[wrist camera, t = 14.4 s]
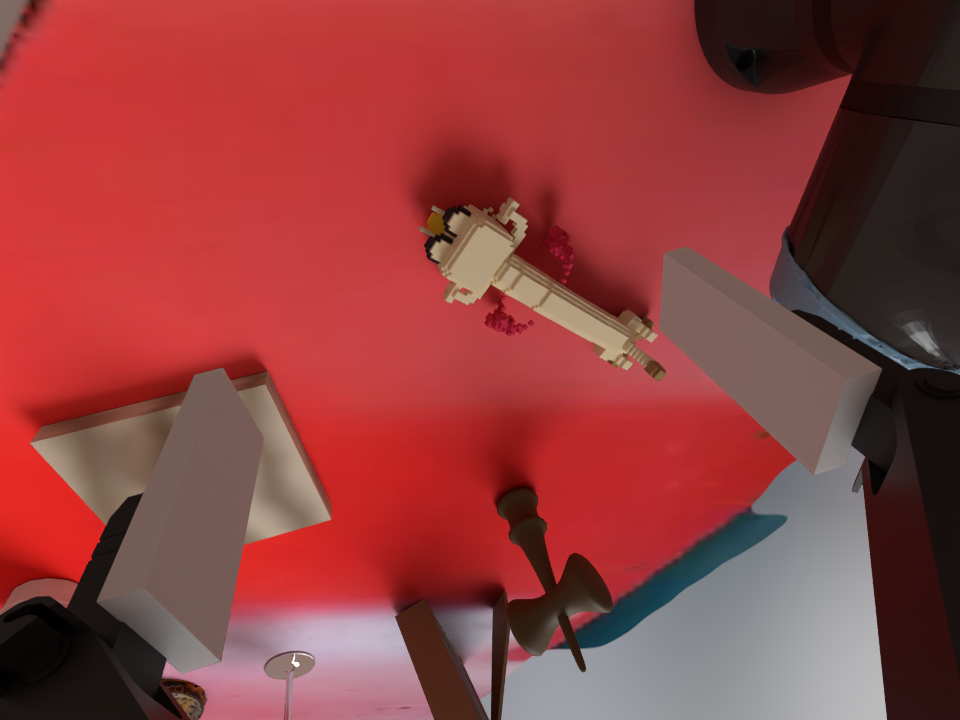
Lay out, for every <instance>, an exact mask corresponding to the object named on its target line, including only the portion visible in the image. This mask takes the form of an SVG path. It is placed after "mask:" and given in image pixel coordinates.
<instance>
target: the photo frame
mask: <svg viewBox="0 0 960 720" xmlns="http://www.w3.org/2000/svg"><path fill="white" fill-rule="evenodd" d="M507 604H508V600H507V593H506V591H503V592H502V594H501V596H500V597H499V599H498V601H497V602H496V604H495V606H494V608H493V629H492V688H491V720H501V714H502V704H503V694H504V684H505V674H506V664H507V654H508V644H509V634H510V626H509V623H508V618H507V613H506V609H507ZM395 618H396V620H397V623H398V626H399V628H400V631H401V634H402V636H403V639H404V641H405V644H406V647H407V649H408V652H409V654H410V657H411V660H412V662H413V665H414V668H415V670H416V673H417V675H418V678H419V681H420V683H421V686H422V689H423V691H424V694H425V696H426V699H427V702H428V704H429V707H430V710H431V712H432V715H433V717H434V720H489V719H488V717H487V714H486V712H485V710H484V708H483V706H482V704H481V702H480V699H479V697H478V695H477V693H476V691H475V689H474V686H473V684H472V682H471V680H470V678H469V676H468V674H467V671H466V669H465V667H464V665H463V663H462V662H461V660H460V658H459V656H458V655H457V653H456V651H455V650H454V648H453V646H452V645H451V643H450V641H449V639H448V638H447V636H446V634H445V633H444V631H443V629H442V627H441V626H440V624H439V622H438V621H437V619H436V617H435V616H434V614H433V612H432V610H431V609H430V607H429V605H428V604H427V602H426V600H425V599H422V600H421V601H419V602H417V603H416V604H414V605H413V606H411V607H410V608H408V609H406V610H405V611H403V612H402V613H400V614H398V615H397V616H395Z"/></svg>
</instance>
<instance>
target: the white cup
mask: <svg viewBox="0 0 960 720" xmlns="http://www.w3.org/2000/svg"><path fill="white" fill-rule="evenodd" d="M77 585H78V584H77V583H75V582H72V581H69V580H64V579H54V578H45V579H38V580H31V581H28V582H26V583H24V584H22V585H19V586H17V587H16V588H15V589H14V590H13V591H12V593H11V594H10V595H9V596H8V598H7V599H6V601H5V603H4V604H3V606H2V608H1V609H0V615H1V614H2V613H4V612H5V611H7V610H9V609H10V608H12V607H13V606H15V605H17V604H18V603H20V602H23V601H26V600H28V599H31V598H34V597H38V596H50V597H52V598H53V599H55V600H56V601H58V602H59V603H60V604H62V605H63V606H64V607H65V608H67V606H68V604H69V602H70V600H71V598H72V596H73V594H74V591H75V589H76V587H77Z"/></svg>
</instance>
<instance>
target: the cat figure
mask: <svg viewBox="0 0 960 720" xmlns="http://www.w3.org/2000/svg"><path fill="white" fill-rule="evenodd" d="M518 206H519V204H518V203H517V202H516V201H515V200H513V199H512V198H510V197H509V198H508V200H507V201H506V203H504V202H503V204H502V205H501V207H500V208H499V210H500V211H499V212H498V214H497V215H495V214H493V215H492V216H491V217H490V216H488V215H487V213H488V212H491V213H492V212H493V211H494V209H493V208H491V207H489V209H488V210H487V209H486V208H484V210H483V211H481V210H479V209H478V208H476V207H474V206H473V205H471V204H470V205H469V206H468V207H467V206H465V205H464V207H463V206H461V205H459V206H458V208H456V207H455V206H454V207H453V208H452V209H450V208H448V209H447V211H446V212H445V211H443V210H442V209H440V208H437V207H436V206H434V205H433V206H432V208H431V209H432V210H433V211H435V212H436V214H435V213H434V212H432V213H431V215H430V217H429V218H428V220H427V221H426V222H427V224H428V229H429V230H428V229H427V228H426V229H425V228H423V227H422V226H420V227H419V228H418V230H419V231H421V232H422V233H424V234H428V235H429V236H430V237H429V239H428V240H427V242H426V243H425V245H424V246H425V248H426V250H425V251H426V253H427V258H428V259H429V260H431V261H432V262H434V263H436V265H437V267H438V268H439V270H440V272H441V274H442V275H444V276H445V277H446V278H447V279H449V280H451V281H452V282H449V283H448V285H447V286H446V291H445V292H444V294H443V295H442V296H443V297H444V299H445V301H447V302H449V303H452V302H453V300H454V299H456V300H458V301H460V302H462V303H464V304H466V305H468V304H469V303H472V304H473V303H474V301H475V300H476V299H477V298H478V299H481V297H482V296H483V294H484V293H485V292H486V290H487V289H488V287H489V286H490V285H492V286H494V287H496V288H498V289H500V290H501V291H503V292H504V293H505V294H507V295H509V296H510V297H512V298H514V299H516V300H518V301H519V302H521V303H523V304H525V305H527V306H528V307H530V308H532V309H533V310H534V311H536V312H538V313H539V314H541V315H543V316H545V317H547V318H548V319H550V320H552V321H554V322H556V323H557V324H559V325H561V326H563V327H565V328H567V329H568V330H570V331H572V332H574V333H576V334H577V335H579V336H581V337H583V338H585V339H586V340H588V341H590V342H594V343H595V345H594V346H593V347H594V348H595V349H594V350H593V351H594V352H595V353H596V354H597V355H598V356H599V357H600V358H602V359H604V360H606V361H608V362H609V363H610V364H611V365H612V366H614V367H616V368H617V367H618V366H619V365H620V366H621V367H622V368H624V369H625V370H628V368H629V367H630V366H631V365H632V364H633V363H632V362H631V361H630V360H629V359H628V358H627V355H628V354H629V355H630V356H632V357H633V358H634V359H636V360H637V361H638V362H639V363H640V364H642V365H643V366H644V367H645V368H644V370H645V371H646V372H647V373H648V374H649V375H651V376H652V377H653V378H654V379H656V380H658V381H660V380H661V379H662V378H663V377H664V376H665V375H666V371H665V370H664V368H663V367H662V366H661V365H660V364H659V363H658V362H656V361H655V360H654V359H652V358H651V357H650V356H649V355H648V354H646V353H644V352H643V351H642V350H641V349H639V348H638V347H637V346H635V345H634V344H635V343H636V340H635V339H636V338H637V339H639V340H640V341H641V340H642V338H643V337H644V338H646V339H647V340H648V341H650V342H653V340H654V339H655V338H656V337H657V336H658V335H657V334H656V333H655V332H654V331H653V330H652V329H651V328H652V327H653V326H654V325H655V324H654V323H653V322H652V321H651V320H650V319H648V318H647V317H645V316H644V317H643V318H642V320H641V319H640V318H639V317H638V316H637V315H636V314H634V313H633V312H631V311H630V310H627V311H625V310H624V311H623V312H622V313H621V314H620V316H619V317H618V318H617V317H615V316H614V315H611V314H609V313H608V312H606V311H605V310H603V309H601V308H600V307H598V306H597V305H595V304H592V303H591V302H589V301H588V300H586V299H584V298H583V297H581V296H580V295H578V294H576V293H575V292H573V291H572V290H570V289H568V288H567V287H565V286H564V285H562V284H560V283H559V282H557V281H555V280H554V279H552V278H551V277H550V276H548V275H547V274H545V273H544V272H542V271H540V270H539V269H537V268H536V267H534V266H532V265H531V264H529V263H528V262H526V261H524V259H522V258H521V257H519V256H517V255H516V254H514V253H513V252H514V251H515V250H516V248H517V247H518V245H519V244H520V243H521V241H522V240H523V238H524V237H525V236H526V234H525V233H524V231H525V230H526V228H527V227H528V225H526V223H527V220H526V219H525V218H524V217H522V216H521V215H520V214H518V213H517V212H515V211H516V209H517V208H518ZM496 218H497V219H498V220H499V221H500V222H502V223H503V224H505V225H506V224H507V222H508V221H509V219H511V220H513V221H514V222H513V224H512V225H513V226H514V228H513V230H512V231H511V234H512V236H511V235H510V234H509V233H508V232H507V231H506V230H505V229H504V228H503V227H502V226H501V225H500V223H499V222H497V221H496ZM547 234H549V237H548V240H544V242H543V243H544V244H545V245H546V246H547V247H549V251H550V252H551V253H553V254H554V255H555V256H557V257H559V258H560V259H562V260H563V259H564V258H565V259H564V260H563V262H564V264H563V265H562V267H563V268H565V269H566V270H565V272H564V273H565V274H566V275H567V276H568V275H569V274H570V272H569V270H570V269H571V268H572V266H573V264H572V263H571V262H570V261H571V260H572V258H573V257H574V256H575V255H574V254H573V253H574V252H575V250H574V249H573V248H572V247H571V246H569V243H570V242H571V241H570V238H571V236H570V235H569V234H568V233H566V232H565V231H564V230H562V229H560V228H559V227H558V226H555V227H554V228H553V227H551V229H550V230H549V232H548V233H547ZM542 248H543V246H541V245H540V246H539V249H542ZM561 282H562V283H564V284H565V283H566V282H567V280H566V279H565V278H562V279H561ZM462 287H464V288H466V289H468V290H470V291H467V290H466V291H465V292H464V293H463V292H461V291H460V290H461V289H462ZM505 298H506V297H505V296H503V297H502V298H501V299H503V300H505ZM498 305H499V306H498V308H497V309H498V310H497V309H495V310H494V313H493V314H491V313H489V314H488V315H487V316H486V321H485V322H484V323H485V324H486V326H487V327H489V328H491V329H492V328H494V330H496V331H498V332H500V331H503V332H505V333H506V334H507V335H508V336H511V335H514V334H515V333H516V331H517V332H518V333H520V334H521V332H522V331H523V330H524V329H525V330H527V328H528V326H527V325H526V324H524V325H522V324H520V323H519V324H517V325H514V323H515V322H516V321H515V320H514V318H513V317H512V316H511V315H509V316H507V314H506V313H504V312H503V311H504V309H505V308H506V307H505V306H504V305H503V303H502V302H499V303H498ZM528 324H529V325H531V326H533V324H534V322H533V321H531V320H530V321H529V322H528Z"/></svg>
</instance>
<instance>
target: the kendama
mask: <svg viewBox="0 0 960 720" xmlns="http://www.w3.org/2000/svg"><path fill="white" fill-rule="evenodd" d="M537 505H538V496H537V495H536V494H535V492H534V491H532V490H530V489H527V488H519V489H515V490H512V491H510V492H509V493H507V494H505V495H504V496H503V497H502V498H501V499H500V501H499V502H498V504H497V506H496V507H497V512H498V514H499V515H500V516H501V517H502V518H503V519H506V520H508V522H509V525H510V531H509V539H510V541H511V542H512V543H513V544H516V545H519V546H520V547H521V548H522V550H523V551H524V553H525V554H526V556H527V558H528V559H529V561H530V563H531V565H532V567H533V568H534V570H535V572H536V574H537V576H538V578H539V580H540V582H541V584H542V586H543V588H544V590H545V592H546V594H544V595H543V596H541V597H539V598H535V599H515V600H512V601H510V602H509V603H508V604H507V609H506V613H507V618H508V623H509V626H510V628H511V631H512V633H513V635H514V637H515V639H516V640H517V642H518V643H519V645H520V646H521V647H522V648H523V649H524V650H525V651H526V652H528V653H529V654H531V655H533V656H541V655H542V654H543V653H544V652H545V650H546V649H547V647H548V645H549V643H550V640H551V638H552V636H553V634H554V632H555V630H556V628H557V627H558V626H559V625H560V626H561V628H562V631H563V633H564V635H565V638H566V640H567V642H568V645H569V647H570V649H571V652H572V654H573V656H574V658H575V661H576V663H577V665H578V667H579V669H580V670H581V671H582V672H585V671H586V667H585V663H584V659H583V657H582V654H581V651H580V648H579V645H578V643H577V640H576V637H575V634H574V632H573V629H572V626H571V624H570V621H569V618H568V617H570V616H571V615H573V614H576V613H577V612H582V611H587V612H599V613H609V612H610V611H611V610H612V609H613V603H612V598H611V595H610V593H609V590H608V588H607V586H606V584H605V583H604V581H603V579H602V577H601V576H600V575H599V573H598V572H597V570H596V569H595V568H594V566H593V565H592V564H591V563H590V562H589V561H588V560H587V559H586V558H585V557H583V556H582V555H580V554H577V553H573V554H571V555H570V556H569V558H568V560H567V563H566V566H565V569H564V571H563V574H562V577H561V579H560V581H559V583H558V584H556V581H555V578H554V575H553V571H552V568H551V564H550V561H549V557H548V553H547V549H546V544H545V539H544V535H545V532H546V530H547V523H546V522H545V521H544V519H542V518H540V517H539V516H538V513H537V510H536V508H537Z"/></svg>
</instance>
